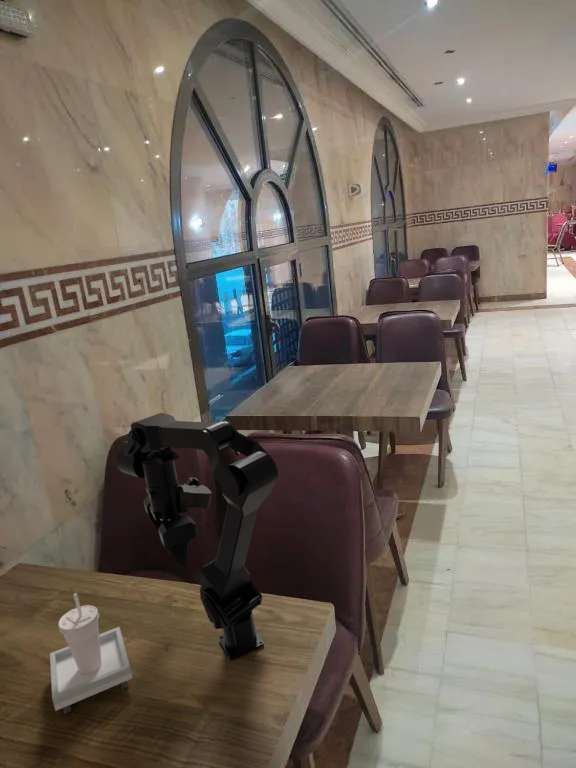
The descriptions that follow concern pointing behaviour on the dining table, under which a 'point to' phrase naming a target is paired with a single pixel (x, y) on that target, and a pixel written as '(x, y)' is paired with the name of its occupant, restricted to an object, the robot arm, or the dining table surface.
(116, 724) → the dining table surface
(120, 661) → the shallow square tray
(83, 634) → the smoothie
